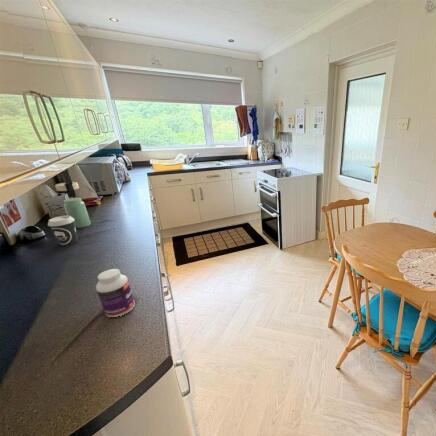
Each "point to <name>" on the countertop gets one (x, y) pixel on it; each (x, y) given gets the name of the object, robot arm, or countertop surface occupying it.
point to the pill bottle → (114, 293)
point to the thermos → (77, 212)
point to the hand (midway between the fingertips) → (70, 194)
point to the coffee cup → (64, 230)
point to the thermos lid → (63, 188)
